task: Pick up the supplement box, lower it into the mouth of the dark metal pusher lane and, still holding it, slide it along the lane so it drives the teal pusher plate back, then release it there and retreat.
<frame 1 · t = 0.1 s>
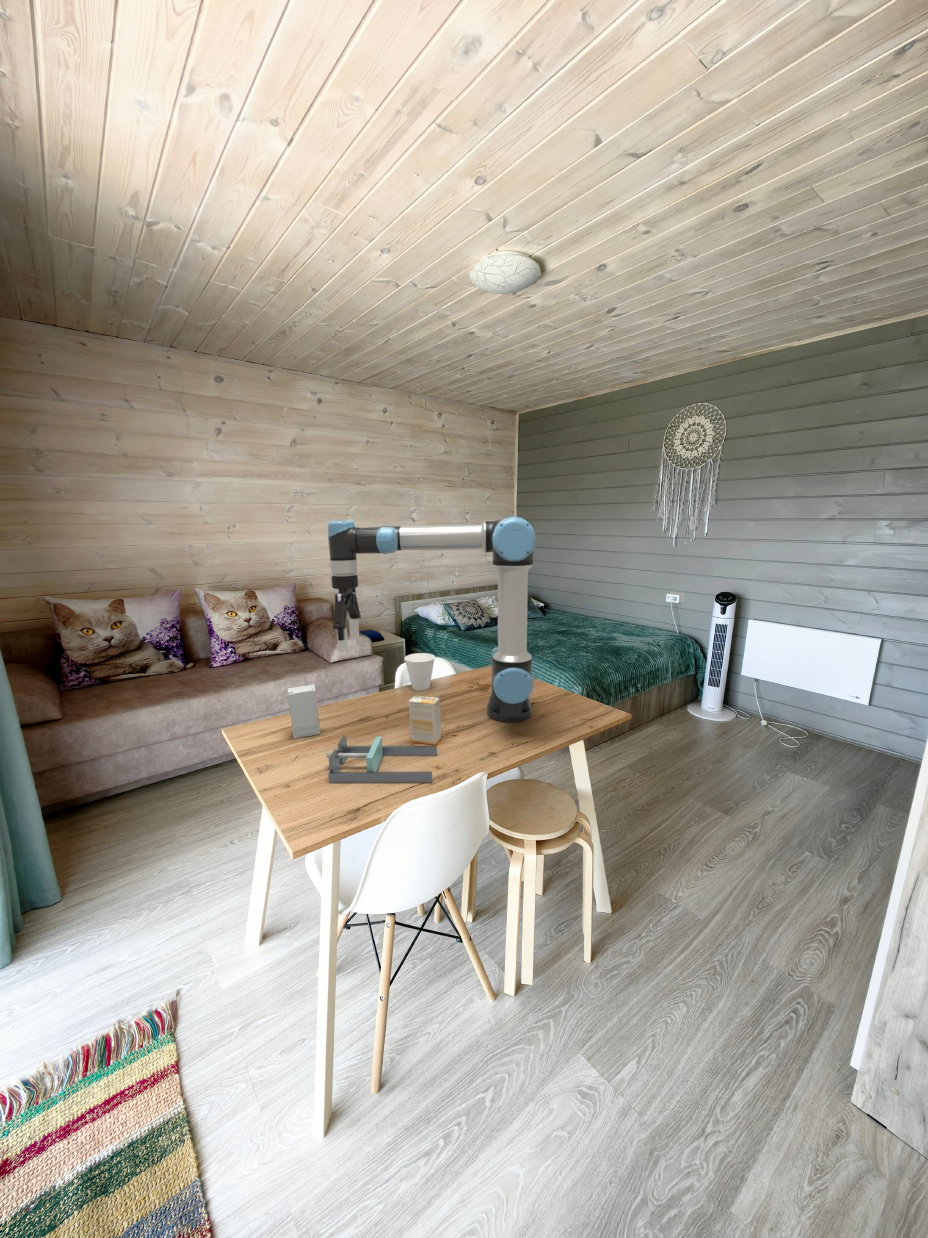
hand: (349, 644, 144), 28 cm above the table, fingers open, 13 cm apart
pusher: (352, 756, 127), point 3 cm above the table, slide at 0.0 cm
lane: (386, 767, 127), on the table
supplement box: (426, 741, 143), on the table
skincare box: (306, 734, 149), on the table
cup: (420, 688, 188), on the table
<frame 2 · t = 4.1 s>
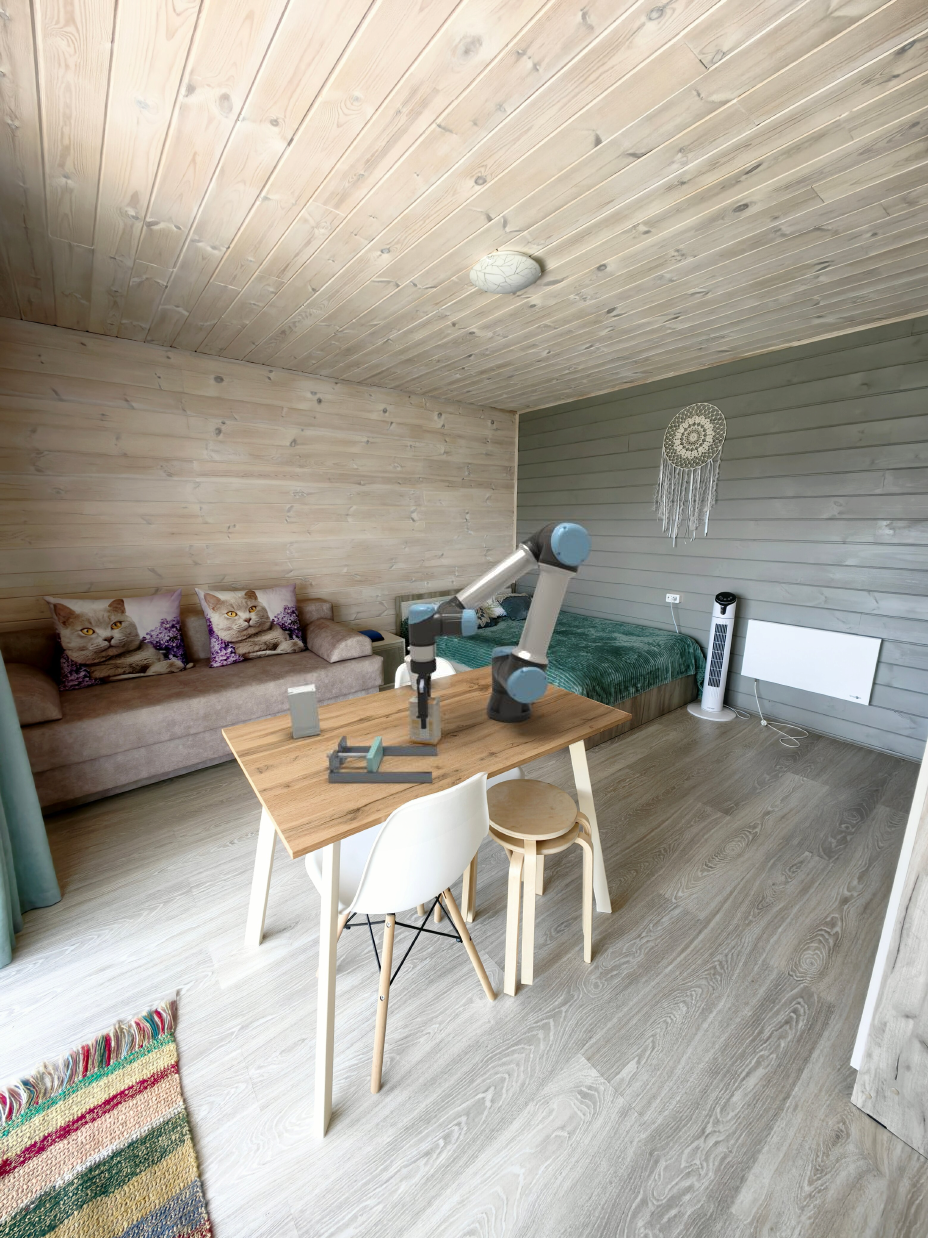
hand: (425, 732, 142), 2 cm above the table, fingers closed on supplement box, 6 cm apart
supplement box: (426, 741, 143), on the table, touching gripper
everything else where it was.
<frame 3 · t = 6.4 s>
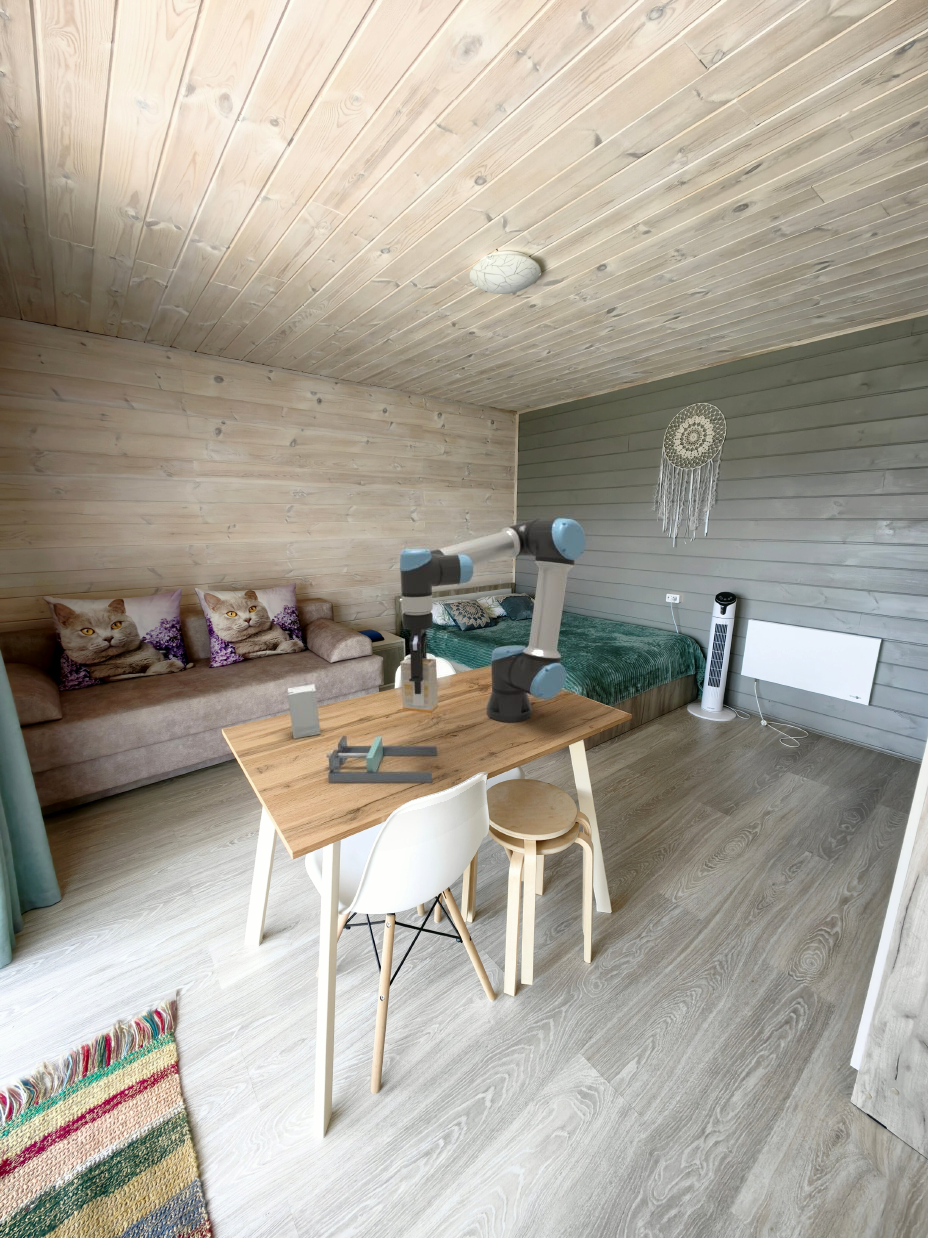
hand: (420, 700, 124), 19 cm above the table, fingers closed on supplement box, 6 cm apart
supplement box: (420, 709, 124), point 16 cm above the table, touching gripper
everything else where it was.
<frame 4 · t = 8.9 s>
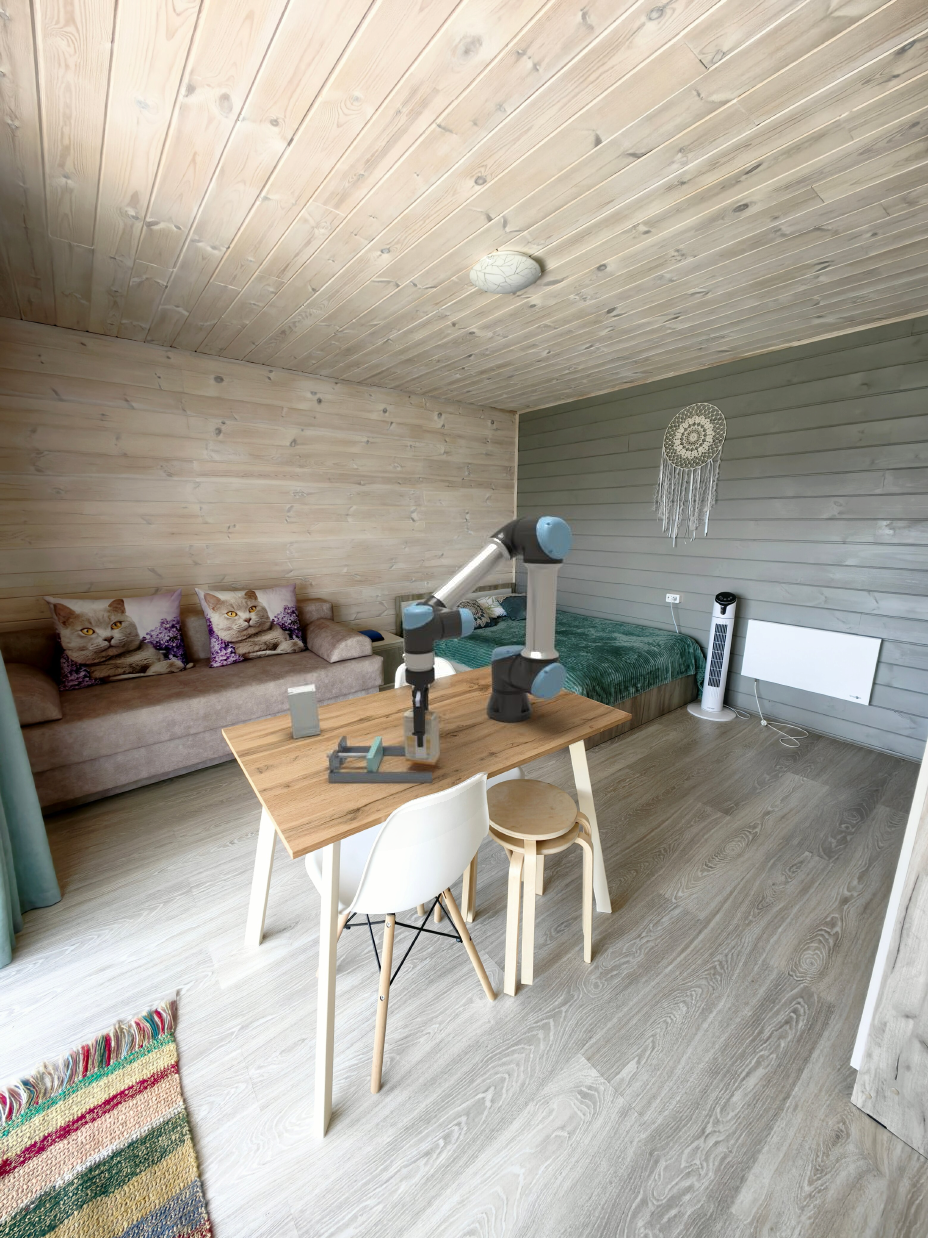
hand: (422, 751, 126), 5 cm above the table, fingers closed on supplement box, 6 cm apart
supplement box: (422, 760, 127), point 2 cm above the table, touching gripper
everything else where it was.
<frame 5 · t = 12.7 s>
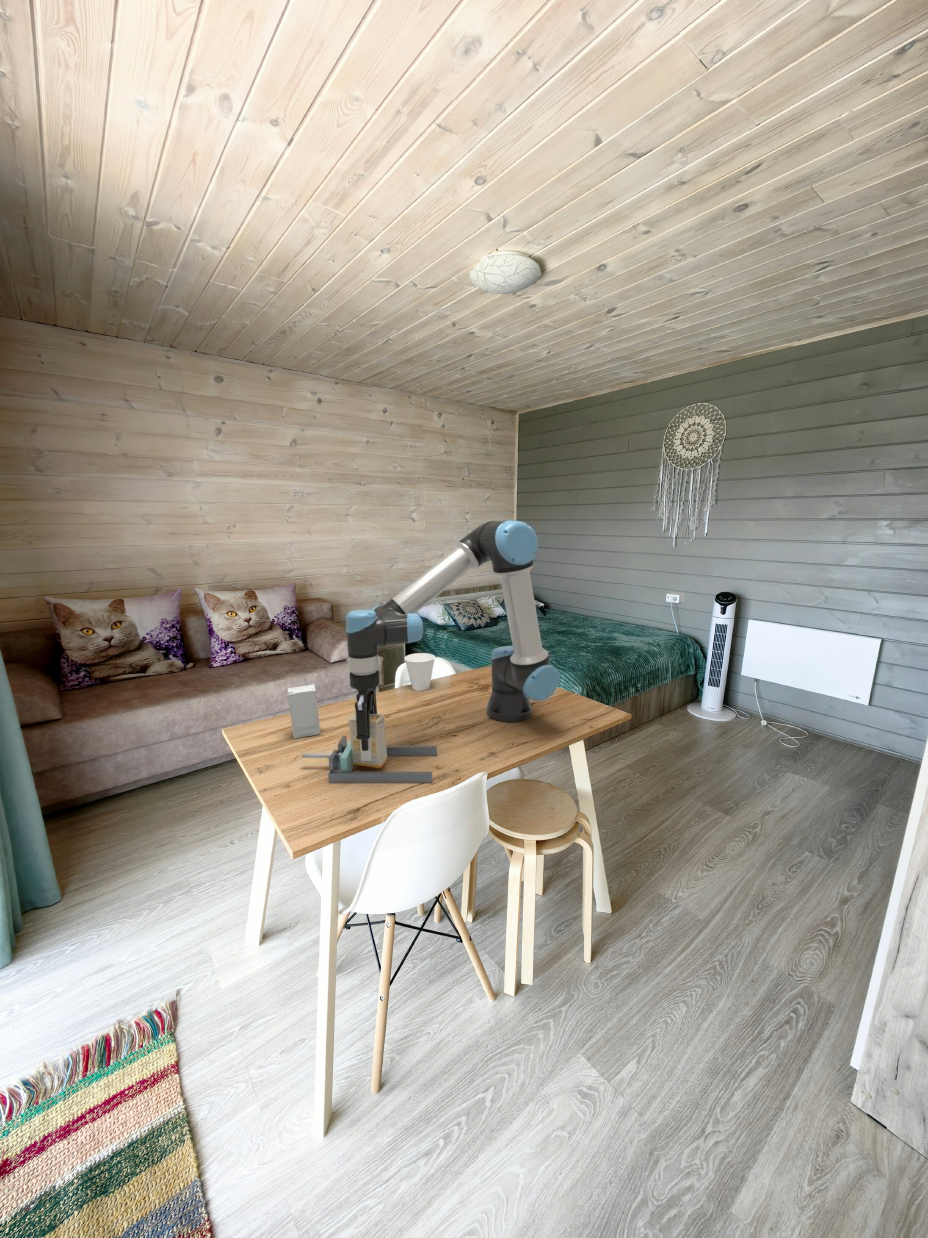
hand: (369, 754, 127), 4 cm above the table, fingers closed on supplement box, 6 cm apart
pusher: (327, 756, 127), point 3 cm above the table, slide at 6.6 cm, touching supplement box
supplement box: (370, 763, 127), point 1 cm above the table, touching gripper, pusher
everything else where it was.
when the fingers open (4 cm above the table, at t = 13.8 s): supplement box drops 1 cm, on the table.
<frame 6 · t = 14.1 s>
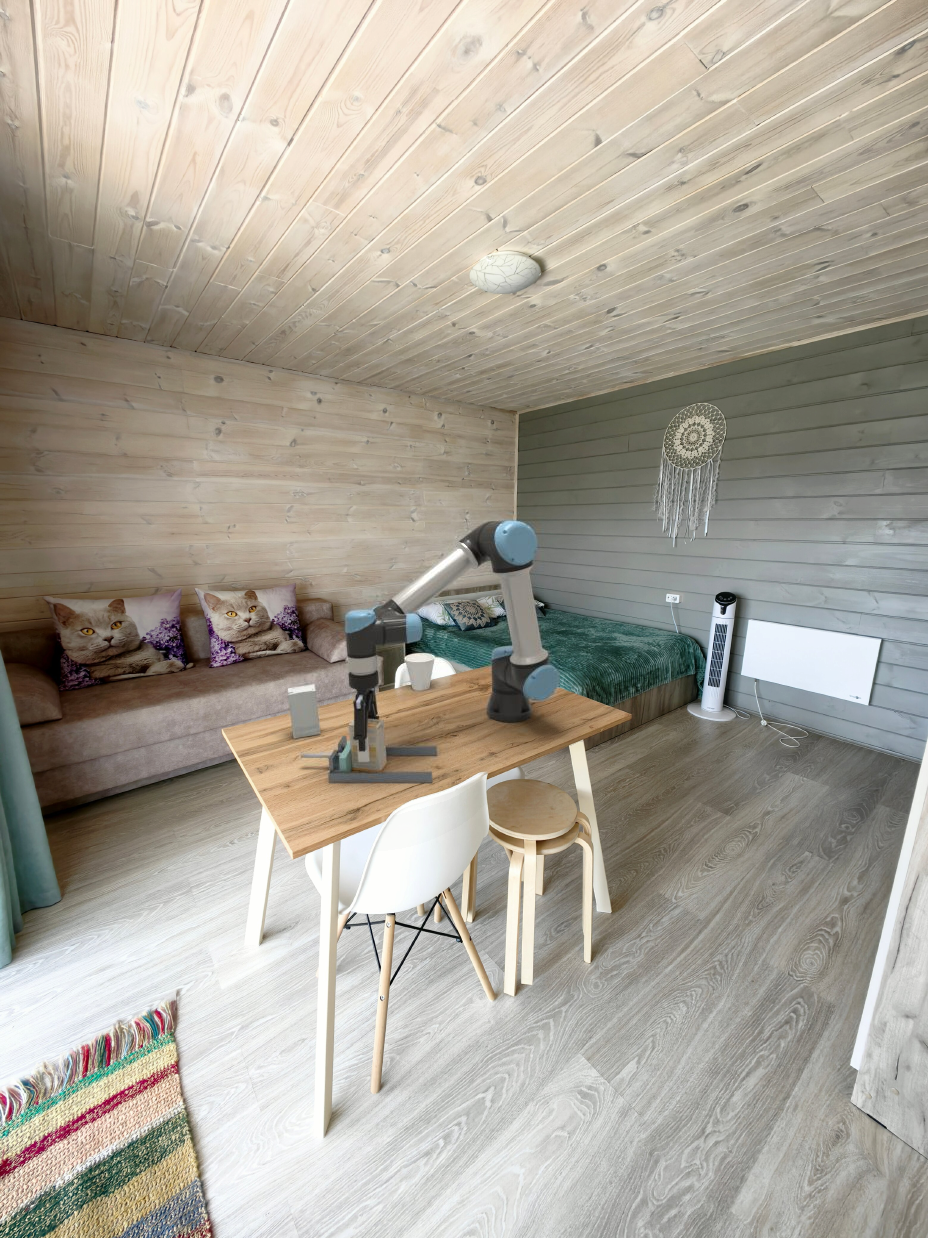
hand: (368, 752, 127), 4 cm above the table, fingers open, 9 cm apart
pusher: (326, 756, 127), point 3 cm above the table, slide at 6.9 cm
supplement box: (369, 768, 128), on the table
everything else where it was.
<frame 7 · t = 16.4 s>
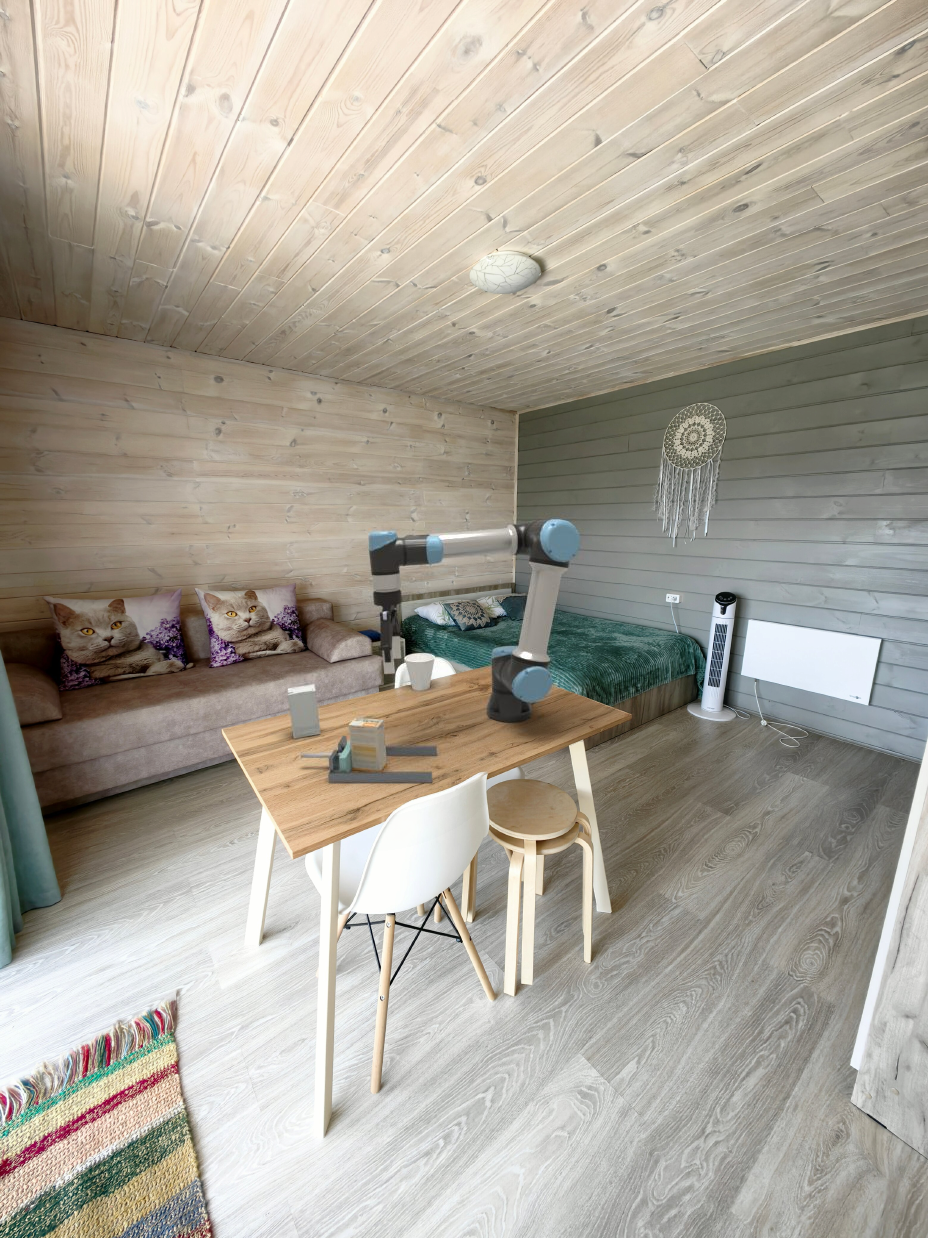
hand: (393, 665, 133), 25 cm above the table, fingers open, 13 cm apart
nothing on the table moved.
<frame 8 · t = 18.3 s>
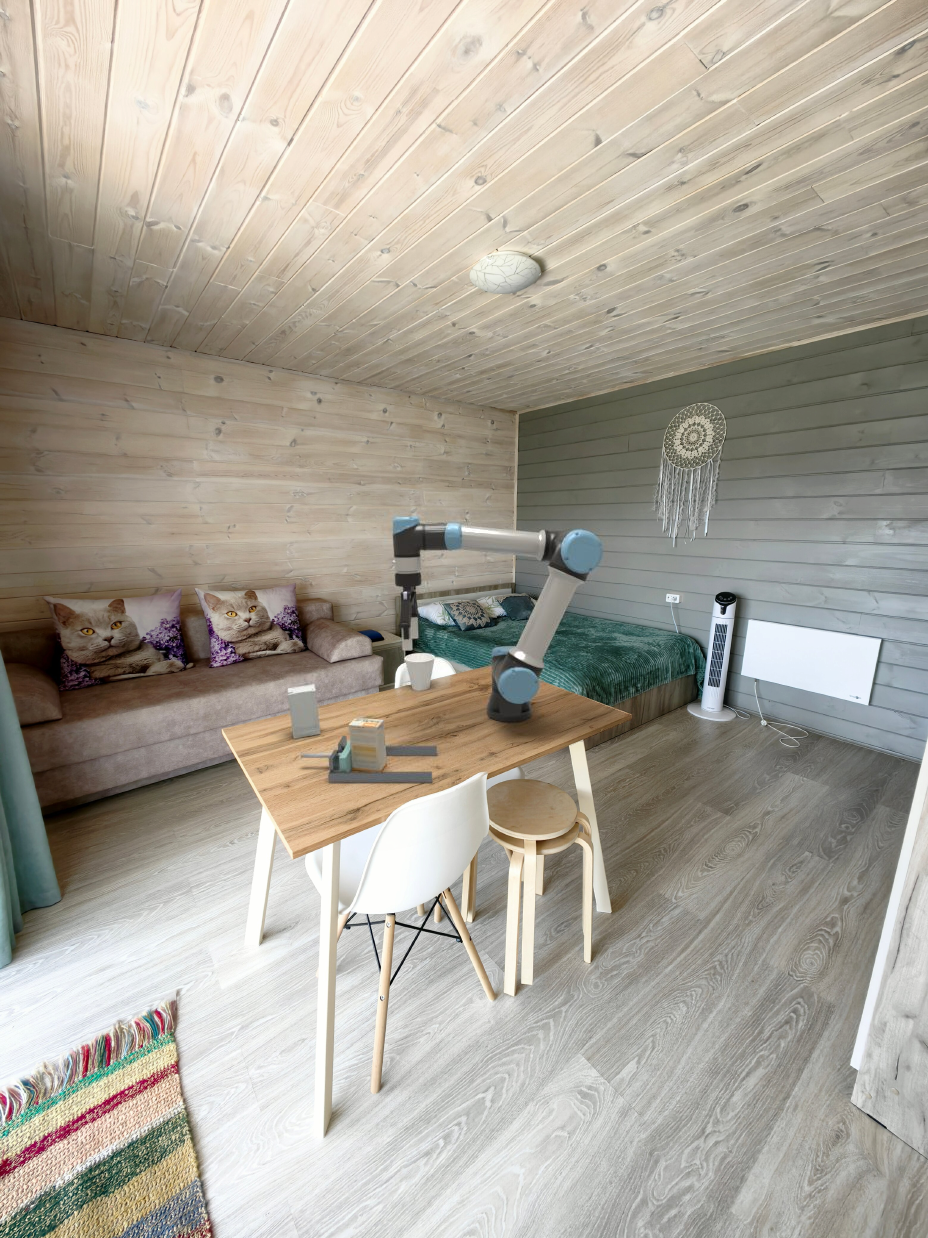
hand: (410, 644, 141), 29 cm above the table, fingers open, 13 cm apart
nothing on the table moved.
at the end: pusher slide at 6.9 cm; supplement box inside the target area (1.1 cm from its centre), on the table; supplement box tilted 0° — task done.
